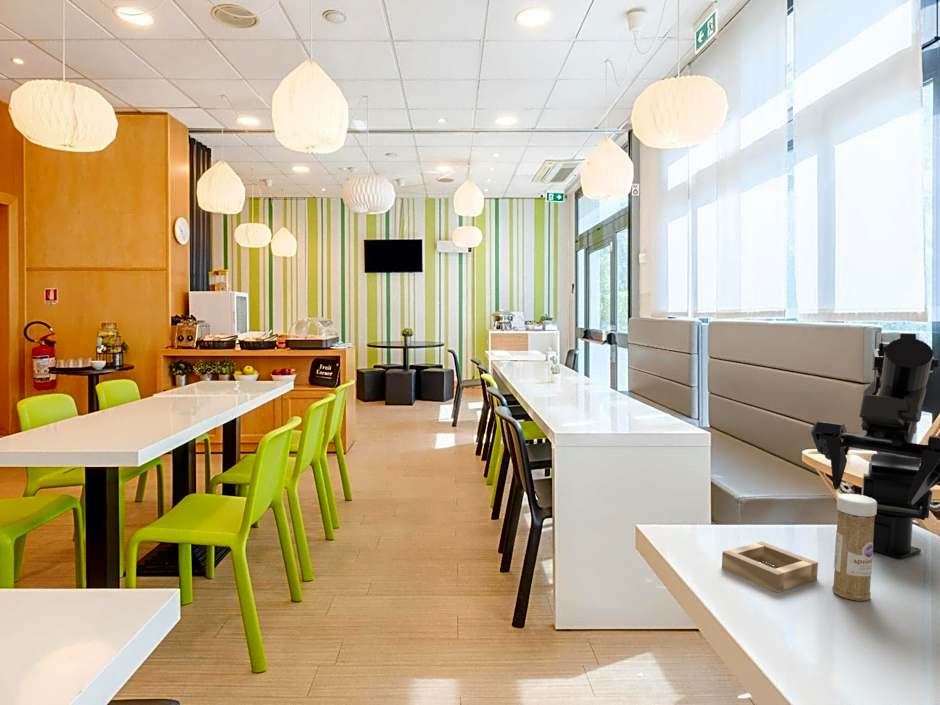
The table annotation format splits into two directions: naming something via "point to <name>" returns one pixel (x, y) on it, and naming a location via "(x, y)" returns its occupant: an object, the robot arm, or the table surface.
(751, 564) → the block
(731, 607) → the table surface
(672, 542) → the table surface
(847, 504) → the sprinkles bottle
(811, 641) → the table surface
